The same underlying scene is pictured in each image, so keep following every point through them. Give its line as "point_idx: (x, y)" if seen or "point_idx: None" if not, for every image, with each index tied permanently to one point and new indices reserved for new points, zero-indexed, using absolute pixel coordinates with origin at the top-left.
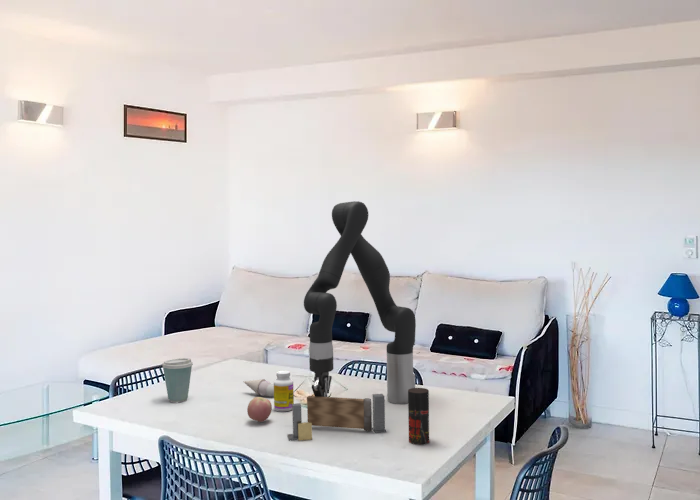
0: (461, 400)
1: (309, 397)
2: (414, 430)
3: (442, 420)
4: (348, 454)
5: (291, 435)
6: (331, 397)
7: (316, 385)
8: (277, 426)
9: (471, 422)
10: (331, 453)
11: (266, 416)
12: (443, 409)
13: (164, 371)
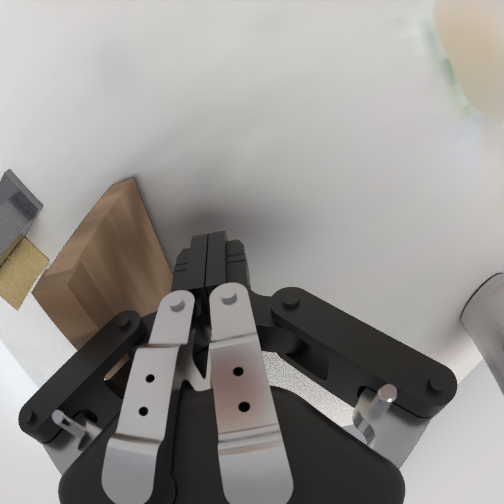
0: (455, 367)
1: (48, 309)
2: None
3: (347, 404)
4: (60, 366)
5: (7, 195)
6: None
7: (50, 447)
8: (78, 27)
9: (340, 421)
10: (35, 341)
11: None
12: None
13: None
